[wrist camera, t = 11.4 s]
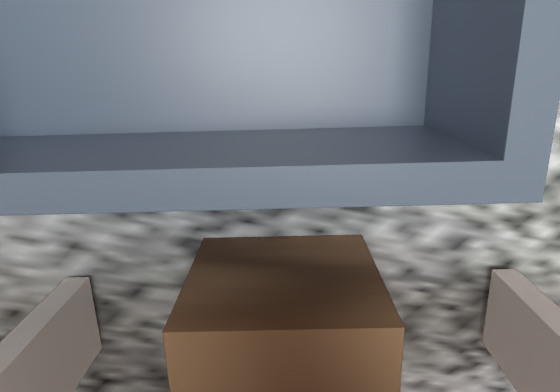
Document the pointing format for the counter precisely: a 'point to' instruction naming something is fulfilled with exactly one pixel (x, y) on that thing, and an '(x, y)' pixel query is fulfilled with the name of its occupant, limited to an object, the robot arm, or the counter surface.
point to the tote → (274, 103)
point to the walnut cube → (284, 319)
